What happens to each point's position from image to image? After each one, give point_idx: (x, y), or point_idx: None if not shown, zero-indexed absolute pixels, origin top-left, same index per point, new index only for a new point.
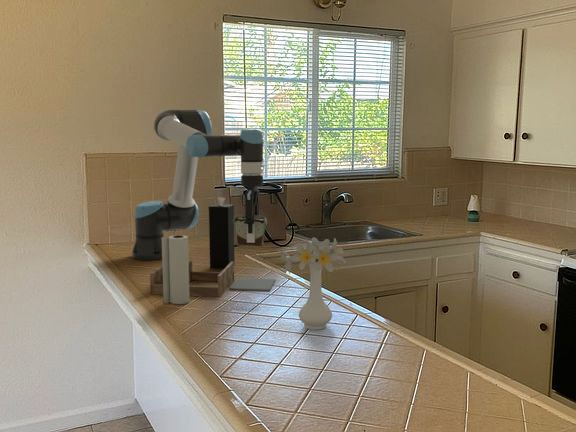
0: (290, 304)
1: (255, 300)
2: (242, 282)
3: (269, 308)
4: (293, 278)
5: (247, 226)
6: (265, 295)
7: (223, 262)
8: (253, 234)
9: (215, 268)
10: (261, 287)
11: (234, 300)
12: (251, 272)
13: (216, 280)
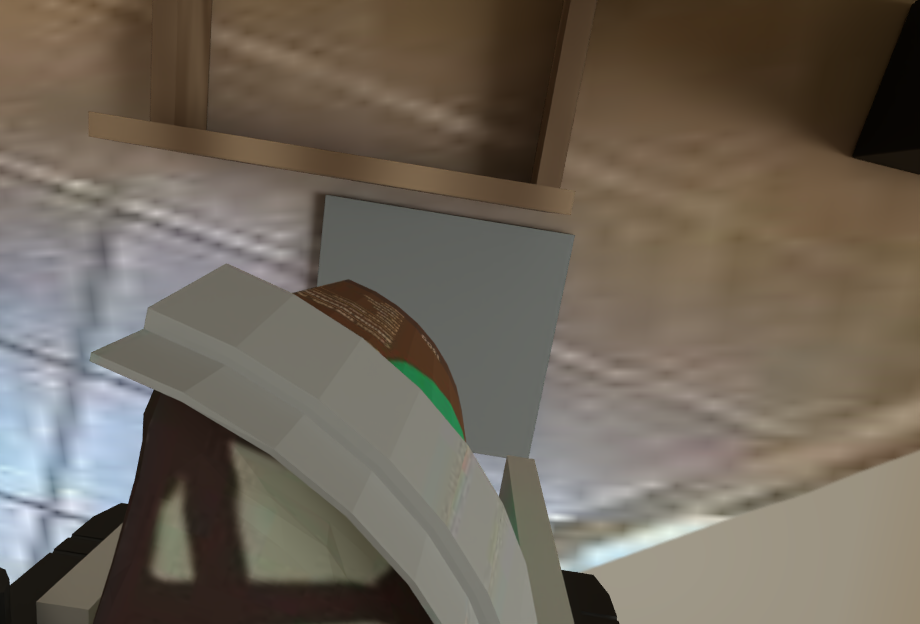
0: (84, 509)
1: None
2: (456, 270)
3: (6, 415)
4: (572, 548)
5: (85, 572)
6: None
7: (911, 105)
8: None
9: (897, 48)
10: None
11: (117, 237)
12: (750, 316)
13: (548, 90)
